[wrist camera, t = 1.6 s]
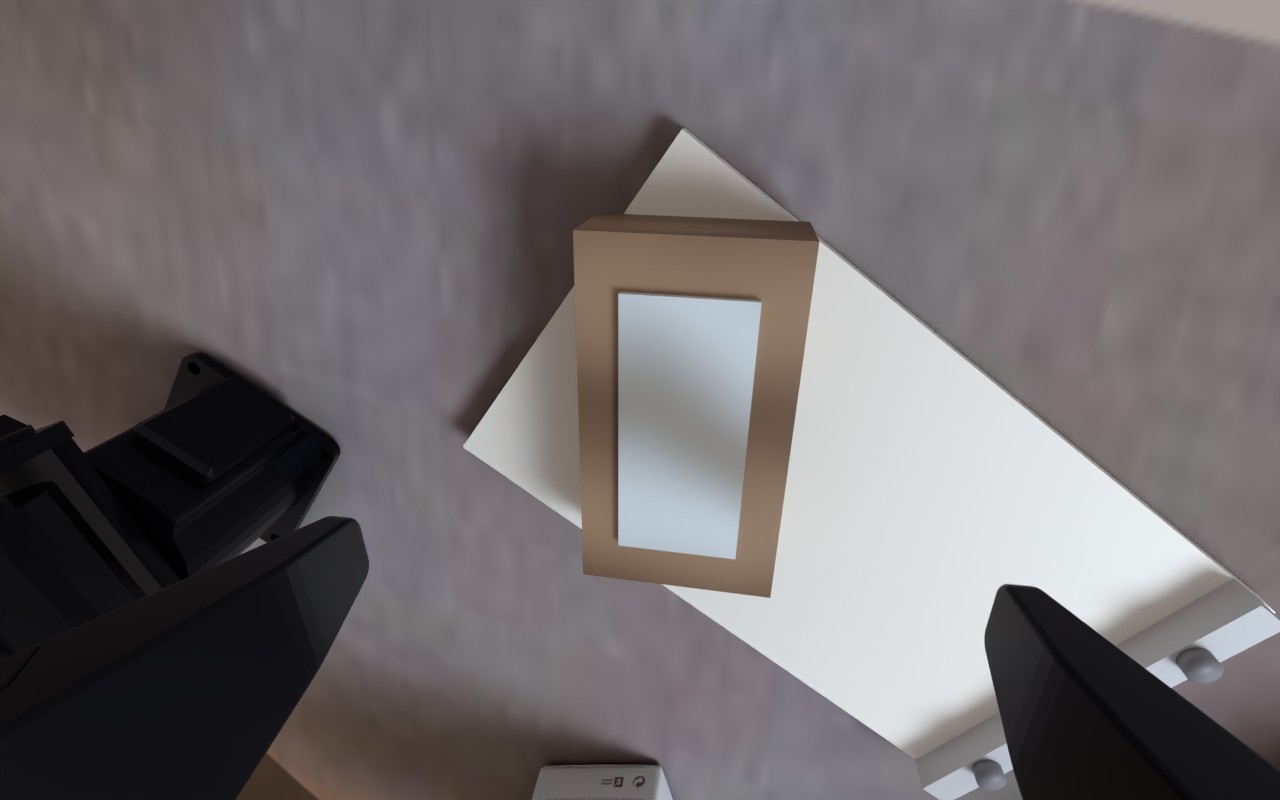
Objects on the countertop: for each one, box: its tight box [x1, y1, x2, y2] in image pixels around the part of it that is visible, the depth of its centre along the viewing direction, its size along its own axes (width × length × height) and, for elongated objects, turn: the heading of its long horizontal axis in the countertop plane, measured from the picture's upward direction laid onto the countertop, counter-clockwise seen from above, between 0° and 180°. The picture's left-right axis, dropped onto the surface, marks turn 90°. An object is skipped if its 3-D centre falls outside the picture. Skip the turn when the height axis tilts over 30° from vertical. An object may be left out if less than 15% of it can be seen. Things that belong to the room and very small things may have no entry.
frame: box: [573, 213, 819, 598], centre depth 19 cm, size 11×6×3 cm, turn 179°
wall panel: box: [463, 128, 1280, 800], centre depth 21 cm, size 13×24×2 cm, turn 54°
